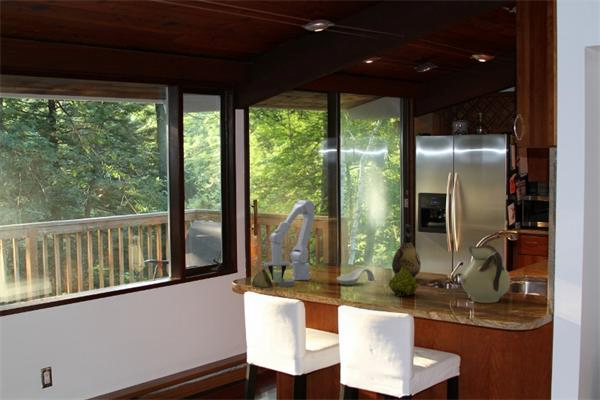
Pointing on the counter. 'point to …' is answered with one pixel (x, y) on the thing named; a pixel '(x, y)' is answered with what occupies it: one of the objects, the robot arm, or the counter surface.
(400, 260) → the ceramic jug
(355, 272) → the spoon rest
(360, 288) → the counter surface
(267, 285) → the rock
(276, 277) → the block
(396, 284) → the vegetable
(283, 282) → the trivet
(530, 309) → the counter surface
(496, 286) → the pitcher
